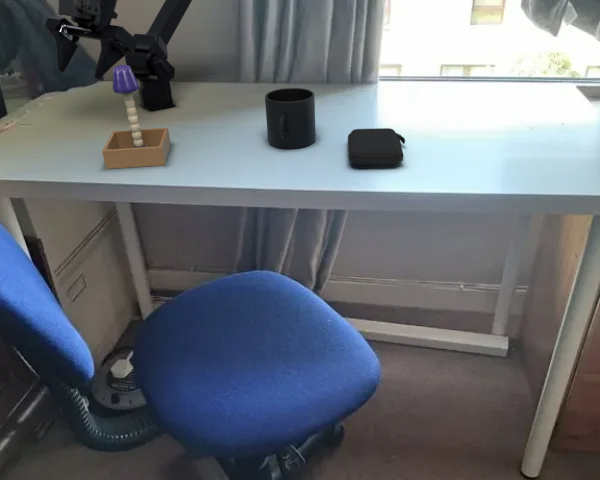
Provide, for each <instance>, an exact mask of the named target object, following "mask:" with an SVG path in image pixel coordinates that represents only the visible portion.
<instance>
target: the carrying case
mask: <svg viewBox="0 0 600 480" xmlns="http://www.w3.org/2000/svg"><path fill="white" fill-rule="evenodd" d="M403 144H406V139H405V137H404V136H403V135H401V134H400V133H397V132H396V131H395V129H393V128H389V127H385V128H384V127H380V128H378V127H377V128H355V129H352V131H351V132H350V133H348V136H347V153H348V154H347V155H348V162H349V164H351V166H353V167H354V168H358V169H367V168H370V169H371V168H374V169H375V168H394V167H397V166H399V165H400V163H402V162H403V161H404V153H403V147H402V145H403Z"/></svg>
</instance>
